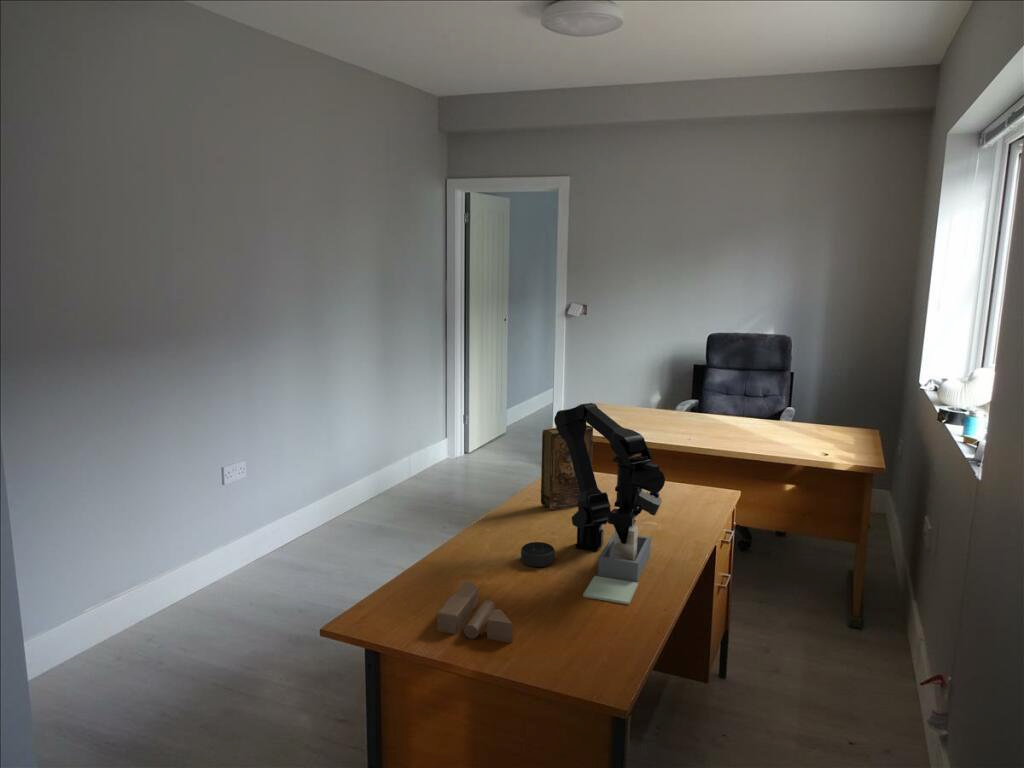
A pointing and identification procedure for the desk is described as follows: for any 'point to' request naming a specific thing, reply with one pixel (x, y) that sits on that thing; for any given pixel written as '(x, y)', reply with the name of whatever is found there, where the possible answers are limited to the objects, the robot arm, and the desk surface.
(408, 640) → the desk surface
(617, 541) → the ash block
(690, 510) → the desk surface
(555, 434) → the book
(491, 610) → the wooden block set
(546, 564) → the smart speaker
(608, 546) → the slotted box
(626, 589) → the sage mat
